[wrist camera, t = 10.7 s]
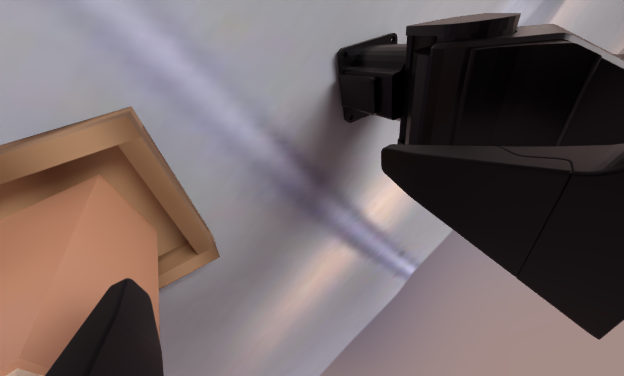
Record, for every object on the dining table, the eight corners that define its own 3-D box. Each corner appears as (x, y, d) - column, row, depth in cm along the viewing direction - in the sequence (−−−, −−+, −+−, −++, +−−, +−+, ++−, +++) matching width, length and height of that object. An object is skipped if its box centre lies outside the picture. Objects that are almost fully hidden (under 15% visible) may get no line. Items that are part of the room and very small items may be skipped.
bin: (131, 106, 15) (127, 116, 13) (212, 235, 22) (219, 256, 20) (-147, 188, 11) (-222, 223, 9) (58, 313, 18) (45, 350, 16)
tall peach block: (99, 174, 15) (-1, 402, 5) (157, 229, 18) (162, 432, 9) (-3, 221, 14) (-398, 654, 4) (80, 272, 17) (-18, 573, 7)
